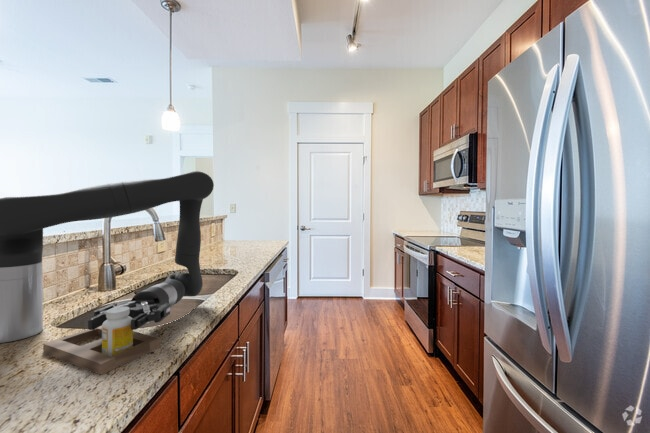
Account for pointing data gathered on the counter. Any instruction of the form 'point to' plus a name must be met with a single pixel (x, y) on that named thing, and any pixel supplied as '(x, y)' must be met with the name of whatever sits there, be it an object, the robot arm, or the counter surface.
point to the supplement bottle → (117, 331)
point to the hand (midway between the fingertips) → (111, 325)
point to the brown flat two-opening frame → (98, 350)
